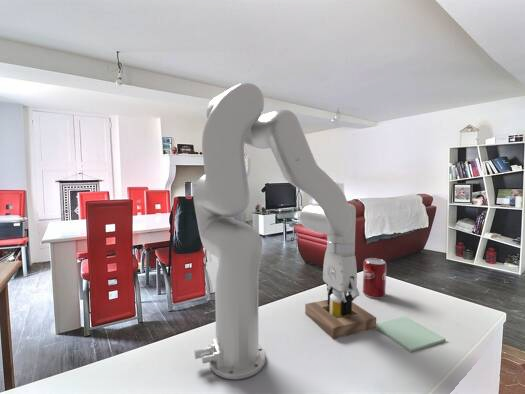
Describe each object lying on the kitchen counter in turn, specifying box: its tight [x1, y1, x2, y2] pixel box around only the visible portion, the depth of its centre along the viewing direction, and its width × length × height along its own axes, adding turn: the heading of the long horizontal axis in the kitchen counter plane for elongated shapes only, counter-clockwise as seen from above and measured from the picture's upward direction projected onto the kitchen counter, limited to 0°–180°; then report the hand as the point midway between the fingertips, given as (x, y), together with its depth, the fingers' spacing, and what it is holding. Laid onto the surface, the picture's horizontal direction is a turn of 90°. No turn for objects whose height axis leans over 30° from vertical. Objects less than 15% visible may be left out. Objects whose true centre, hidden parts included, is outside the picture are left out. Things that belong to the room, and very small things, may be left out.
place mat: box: [375, 316, 446, 353], centre depth 74 cm, size 12×12×1 cm
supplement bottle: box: [329, 288, 349, 319], centre depth 81 cm, size 5×5×10 cm
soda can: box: [362, 257, 387, 299], centre depth 98 cm, size 7×7×12 cm
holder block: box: [304, 299, 377, 340], centre depth 81 cm, size 14×14×3 cm
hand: (339, 308), depth 81 cm, fingers closed on supplement bottle, 5 cm apart
